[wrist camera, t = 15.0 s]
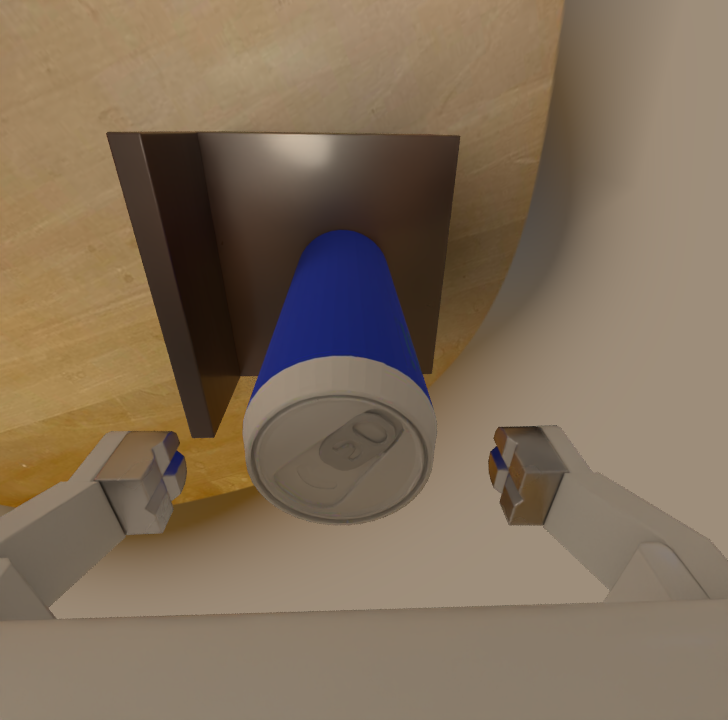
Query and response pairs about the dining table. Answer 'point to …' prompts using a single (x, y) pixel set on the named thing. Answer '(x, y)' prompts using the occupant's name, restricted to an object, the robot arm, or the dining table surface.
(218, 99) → the dining table surface
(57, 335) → the dining table surface
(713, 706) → the robot arm
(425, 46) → the dining table surface
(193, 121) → the dining table surface
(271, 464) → the beverage can
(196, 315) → the shelf
